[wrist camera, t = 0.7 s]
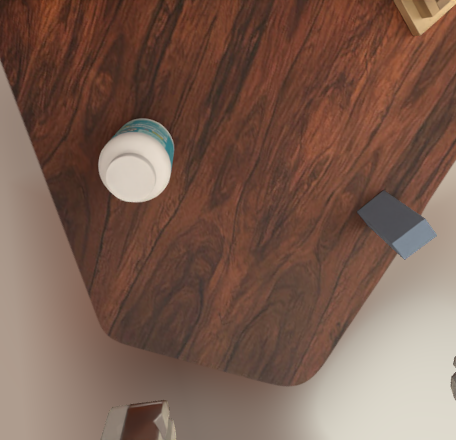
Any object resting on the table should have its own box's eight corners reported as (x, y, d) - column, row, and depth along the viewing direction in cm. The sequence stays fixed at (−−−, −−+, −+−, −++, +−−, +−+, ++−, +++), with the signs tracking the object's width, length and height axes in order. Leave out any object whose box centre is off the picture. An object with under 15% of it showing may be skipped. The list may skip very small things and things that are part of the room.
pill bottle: (175, 119, 44) (171, 144, 32) (173, 174, 47) (170, 216, 35) (114, 114, 43) (86, 138, 31) (116, 171, 46) (92, 214, 34)
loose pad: (356, 211, 53) (391, 243, 44) (383, 190, 52) (425, 218, 43) (368, 225, 54) (404, 259, 45) (394, 205, 53) (437, 235, 44)
